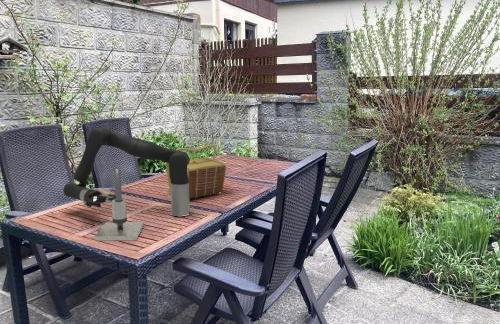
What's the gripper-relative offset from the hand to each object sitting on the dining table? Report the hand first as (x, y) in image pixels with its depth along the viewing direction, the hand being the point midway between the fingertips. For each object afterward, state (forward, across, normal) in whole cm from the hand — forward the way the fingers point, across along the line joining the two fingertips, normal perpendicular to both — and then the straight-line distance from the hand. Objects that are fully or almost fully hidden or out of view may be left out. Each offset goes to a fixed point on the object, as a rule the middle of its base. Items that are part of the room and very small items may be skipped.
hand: (108, 203), depth 196 cm
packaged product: (-47, +26, +13) cm, 55 cm away
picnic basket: (-14, +67, +13) cm, 69 cm away
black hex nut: (+9, 0, +7) cm, 11 cm away
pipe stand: (+9, 0, +12) cm, 15 cm away
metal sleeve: (+9, 0, +5) cm, 10 cm away
